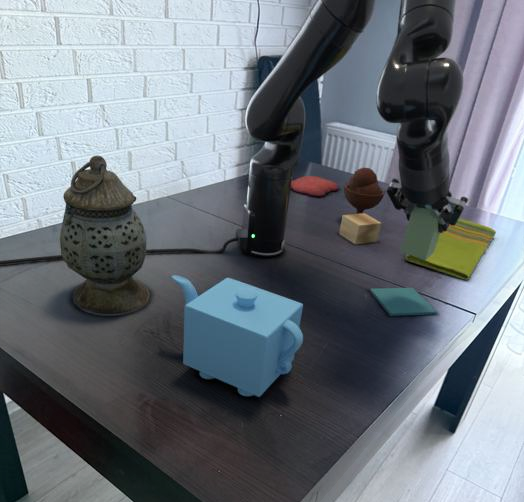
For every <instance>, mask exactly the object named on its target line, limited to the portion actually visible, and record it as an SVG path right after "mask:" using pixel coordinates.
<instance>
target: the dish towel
mask: <svg viewBox="0 0 524 502" xmlns="http://www.w3.org/2000/svg"><path fill="white" fill-rule="evenodd" d="M496 232H497V231H496V230H495V229H493V228H491V227H489V226H486V225H484V224H480V223H477V222H473V221H469V220H467V219H463V218H460V217H459V219H458V221H457V222H456V224H455V225H454V226H452V225H449V227H448V229H447V230H446V232H445V231H443V233H440V235H439V238H438V242H437V245H436V248H435V251H434V253H433V254H432V255H431V256H429V257H428V258H427V259H426V260H423V259H420V258H417V257H414V256H411V255H408V254H406V256H405V260H406V261H408V262H410V263H413V264H416V265H419V266H422V267H424V268H425V267H426V268H428V269H431V270H433V271H436V272H440V273H443V274H446V275H449V276H451V277H456V278H459V279H461V280H465V281H467V280H469V278H470V277H471V275H472V274H473V272H474V270H475V269H476V267H477V265H478V263H479V261H480V259H481V258H482V256H483V255H484V253H485V252H486V250H487V248H488V247H489V246H490V244H491V242H492V241H493V239H494V238H495V235H496Z"/></svg>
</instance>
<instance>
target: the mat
mask: <svg viewBox="0 0 524 502" xmlns="http://www.w3.org/2000/svg"><path fill="white" fill-rule="evenodd" d="M369 292H370V293H371V294H372V296H373V297H374V298H375V299H376V301H377V302H378V303H379V304H380V305H381V306H382V308H383V309H384V310H385V311H386V313H387V314H388V315H389V316H390V317H398V316H401V317H402V316H425V315H427V316H428V315H437V310H436V309H435V308H434V307H433V306H432V305H431V304H430V303H429V302H428V301H427V300H426V299H425V298H424V297H423V296H422V295H421V294H420V292H418V291H417V290H416V289H415V288H414V287H386V288H385V287H382V288H381V287H380V288H379V287H377V288H370V289H369Z"/></svg>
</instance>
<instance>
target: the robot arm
mask: <svg viewBox="0 0 524 502" xmlns="http://www.w3.org/2000/svg"><path fill="white" fill-rule="evenodd" d="M399 1H400V2H399V10H398V21H397V30H396V36H395V38H394V42H393V46H392V49H391V50H390V53H389V56H388V57H387V60H386V62H385V64H384V66H383V69H382V71H381V74H380V77H379V78H378V79H379V80H378V82H377V86H376V93H375V105H376V109H377V112H378V114H379V116H380V117H381V118H382V119H383V120H384V121H385V122H386V123H390V124H398V126H397V129H396V144H397V153H398V173H399V179H400V181H399V179H397V178H392V180H391V181H390V183H389V185H388V187H387V189H386V193H387V195H388V197H389V200H390V201H391V203H392V206H393V207H394V208H395V210H397V211H401V210H403V213H404V214H405V216H406V220H407V221H408V222H409V218H410V215H411V212H412V211H413V209H414V208H415V207H418V208H424V209H426V210H429V212H430V213H431V215H432V216H433V218H436V219H437V220H438V232H439V233H443V231H445V232H446V230H447V229H448V227H449V225H452V226H454V225H455V224H456V222H457V221H458V219H459V218H460V217H461V215H462V213H463V211H464V210H465V207H466V206H467V204H468V202H469V198H468V197H466V196H461V197H460V199H459V198H456V197H453V194H452V192H451V191H450V182H451V181H450V179H451V177H450V172H451V170H450V169H451V167H450V165H451V164H450V161H451V160H450V159H451V157H450V156H451V155H450V151H449V140H448V139H449V128H450V125H451V122H452V120H453V119H454V115H455V113H456V111H457V109H458V107H459V104H460V101H461V99H462V95H463V89H464V73H463V70H462V68H461V66H460V64H459V63H458V62H457V61H456V60H454V59H453V58H451V57H441V56H442V55H443V54H444V53H445V52H446V51H447V50H448V48H449V47H450V45H451V42H452V38H453V33H454V24H455V23H454V21H455V11H456V10H455V9H456V0H399ZM376 5H377V0H315V2H314V3H313V4H312V6H311V8H310V9H309V12H308V13H307V15H306V17H305V18H304V20H303V22H302V24H301V26H300V27H299V29H298V30H297V32H296V33H295V35H294V37H293V38H292V39H291V41H290V43H289V44H288V46H287V47H286V50H285V51H284V53H283V54H282V56H281V57H280V59H279V61H278V62H277V63H276V65H275V66H274V67H273V69H272V70H271V71H270V72H269V74H268V75H267V76H266V78H265V79H264V81H263V82H262V83H261V85H259V86H258V89H257V90H256V91H255V93H254V94H253V95H252V97H251V98H250V100H249V102H248V104H247V107H246V111H245V119H244V121H245V128H246V131H247V133H248V135H249V136H250V137H251V138H252V139H254V140H255V141H257V142H262V143H264V144H263V146H262V148H261V149H260V150H259V151H258V152H257V153H255V154H254V155H253V156H252V157H251V159H250V162H249V170H248V171H249V172H248V173H249V174H248V185H247V196H246V203H244V204H243V211H242V212H243V214H242V225H241V229H235V237H233V238H230V239H228V240H226V241H225V242H224V243H223V245H222V247H221V248H220V249H217V250H205V249H199V248H191V247H190V248H187V247H186V248H154V249H146V254H156V253H159V254H160V253H189V252H191V253H198V254H222V252H224V251H226V250H227V247H228V245H229V244H231V243H234V242H236V244H237V246H238V248H242V250H243V251H244V253H245V255H250V256H251V255H252V256H255V257H261V258H272V257H273V258H274V257H277V256H280V255H281V254H283V251H284V246H285V244H286V238H285V236H286V235H285V234H286V227H287V220H288V211H289V203H290V197H291V190H292V189H291V183H292V181H293V174H294V169H295V168H296V166H297V164H298V161H299V158H300V153H301V149H302V143H303V138H304V132H305V125H306V108H305V104H304V101H303V99H302V97H301V96H302V95H303V93H304V92H305V91H306V90H307V89H308V88H309V87H311V85H312V84H314V83H315V82H316V81H317V80H318V79H320V78H321V77H322V76H324V75H325V74H326V73H328V72H329V71H331V69H332V68H334V67H335V66H336V65H337V64H338V63H339V62H341V61H342V60H343V59H344V58H345V57H346V56H347V55H348V53H349V52H350V51H351V50H352V48H353V47H354V46H355V44H356V43H357V42H358V41H359V39H360V38H361V36H362V35H363V33H364V32H365V30H366V29H367V28H368V26H369V25H370V23H371V21H372V19H373V16H374V15H375V10H376ZM449 206H450V207H449ZM50 260H63V257H62V255H61V254H57V255H46V256H35V257H25V258H17V259H16V258H13V259H5V260H0V266H1V265H9V264H10V265H11V264H20V263H29V262H41V261H50Z"/></svg>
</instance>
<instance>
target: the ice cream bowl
mask: <svg viewBox="0 0 524 502" xmlns="http://www.w3.org/2000/svg"><path fill="white" fill-rule="evenodd" d="M386 193H387V190H385V189H383V188H381V186H380V185H379V181H378V176H377V173H376V172H375V171H374V170H373V169H371V168H370V167H361V168H358V169H357V170H356V171H354V174H353V175H352V176H351V177H350V179H349V181H348V182H347V183H345V184H344V185H343V195H344V198H345V199H346V201H347V203H348V204H349V205H351V206H352V207H353V208H354V209H356V212H355V214H362V213H364V212H365V210H371V209H373V208H375V207H376V206H378V205H379V204H380V203H381V202H382V200H383V198H384V196H385V194H386Z"/></svg>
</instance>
